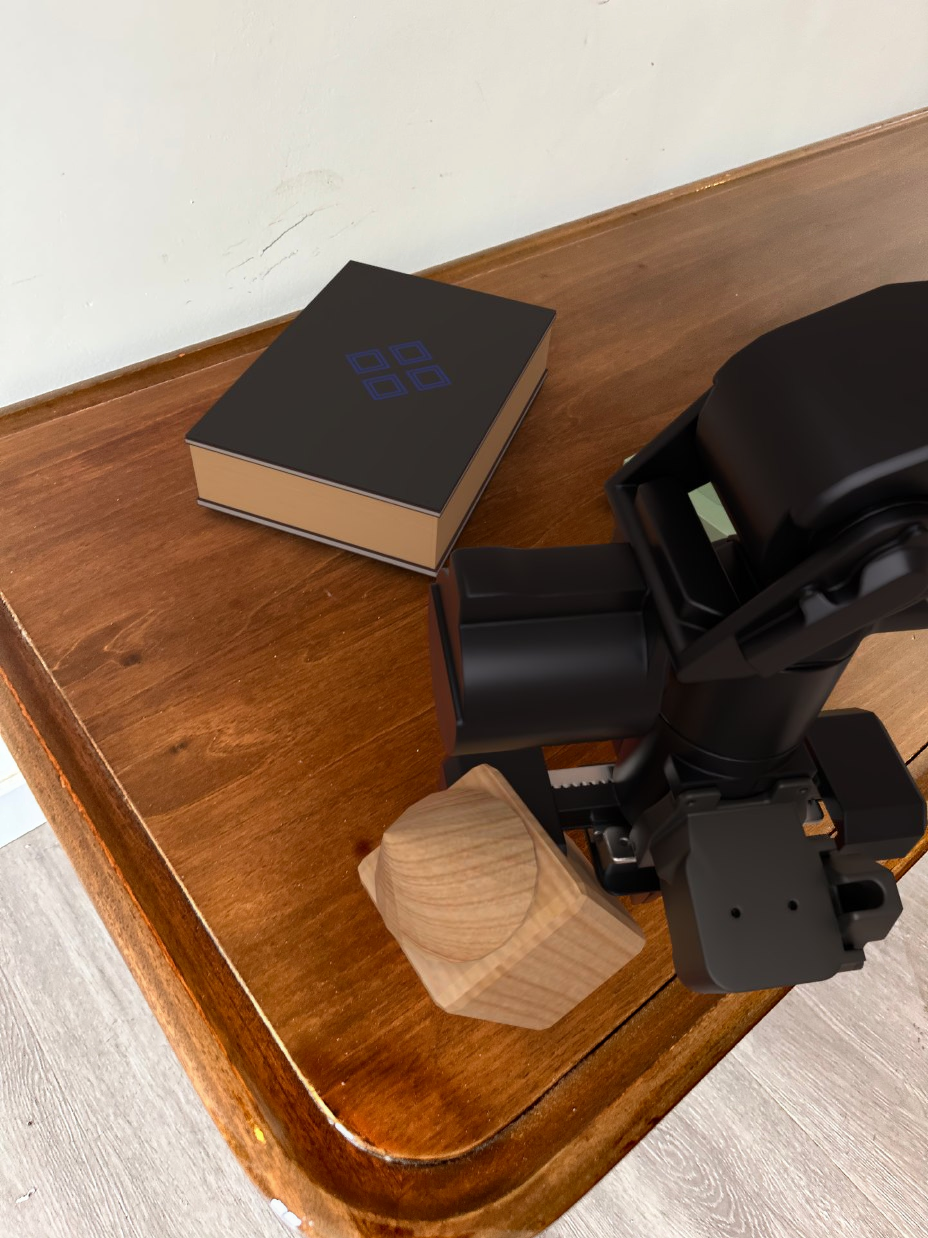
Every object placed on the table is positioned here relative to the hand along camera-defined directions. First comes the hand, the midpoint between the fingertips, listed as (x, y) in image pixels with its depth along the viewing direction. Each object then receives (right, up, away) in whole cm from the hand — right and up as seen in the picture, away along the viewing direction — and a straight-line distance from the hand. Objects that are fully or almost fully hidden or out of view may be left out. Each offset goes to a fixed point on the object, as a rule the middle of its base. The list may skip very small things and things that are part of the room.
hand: (636, 894), depth 44 cm
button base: (+10, +20, +23) cm, 32 cm away
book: (-14, +26, +27) cm, 40 cm away
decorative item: (-4, -2, +1) cm, 4 cm away
